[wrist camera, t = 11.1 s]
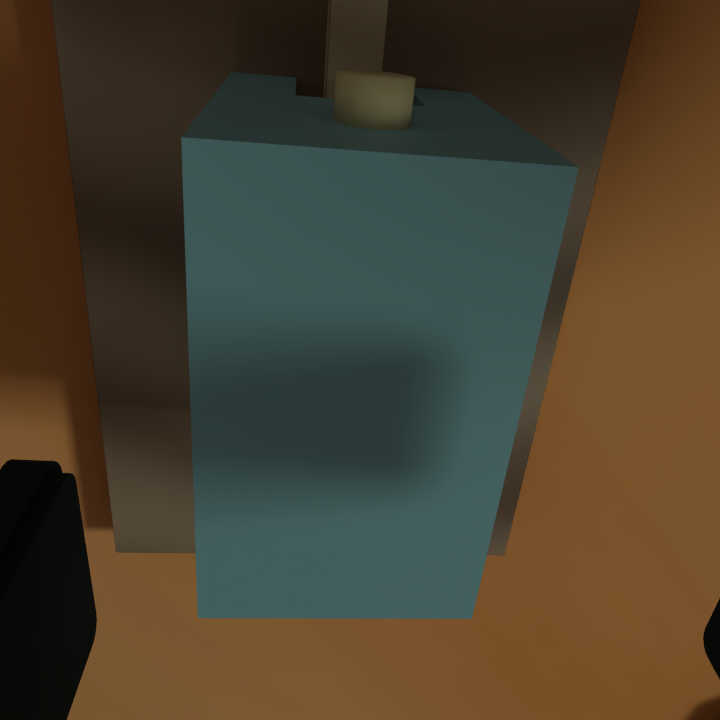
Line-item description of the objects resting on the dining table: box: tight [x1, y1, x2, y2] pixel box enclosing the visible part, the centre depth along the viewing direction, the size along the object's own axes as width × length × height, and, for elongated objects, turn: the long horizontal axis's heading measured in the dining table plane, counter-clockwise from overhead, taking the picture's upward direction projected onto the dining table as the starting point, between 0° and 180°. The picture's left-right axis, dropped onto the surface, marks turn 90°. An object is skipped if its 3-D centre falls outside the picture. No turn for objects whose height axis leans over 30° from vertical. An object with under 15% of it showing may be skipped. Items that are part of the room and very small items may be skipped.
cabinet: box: [181, 69, 579, 619], centre depth 16 cm, size 11×6×8 cm, turn 175°
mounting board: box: [51, 0, 640, 555], centre depth 19 cm, size 22×14×3 cm, turn 175°
